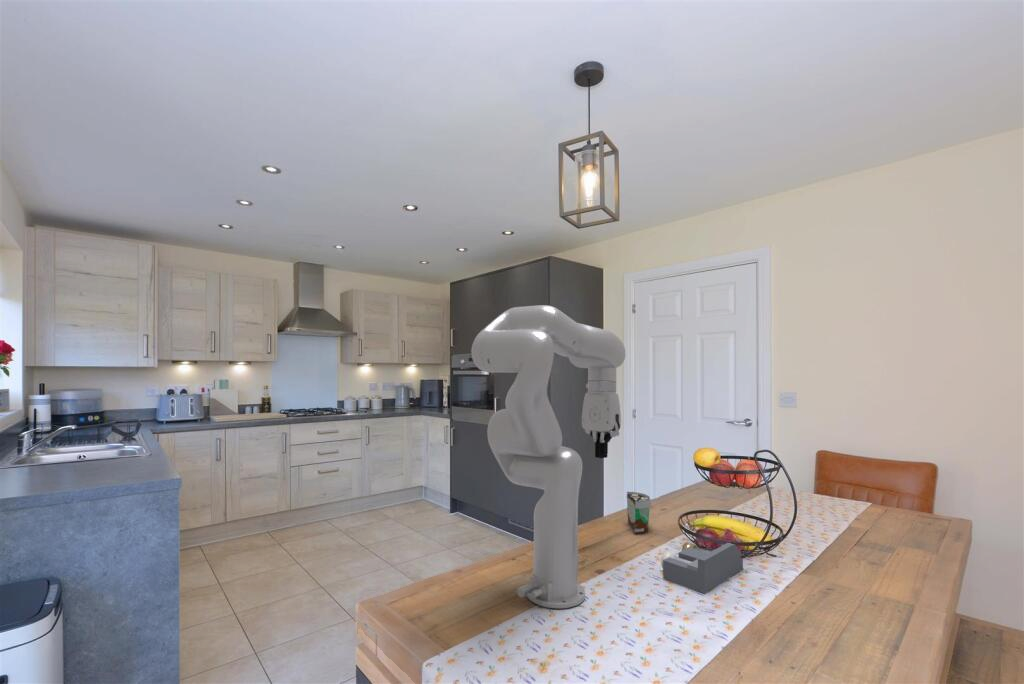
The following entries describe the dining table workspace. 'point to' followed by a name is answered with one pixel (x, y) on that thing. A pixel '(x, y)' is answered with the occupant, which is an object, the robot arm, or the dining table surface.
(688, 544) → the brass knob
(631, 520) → the food container
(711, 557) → the mount
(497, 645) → the dining table surface
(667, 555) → the light grey capped cylinder
